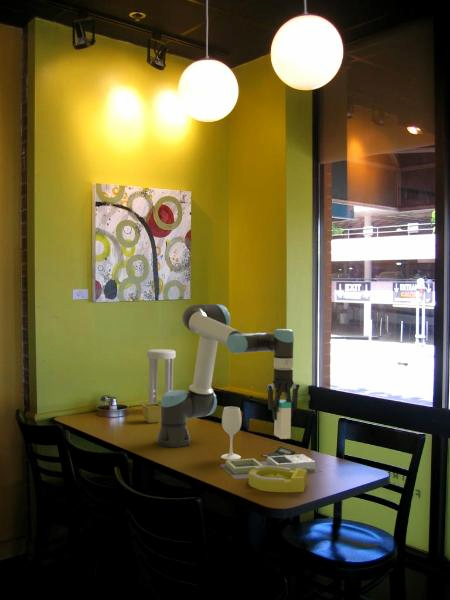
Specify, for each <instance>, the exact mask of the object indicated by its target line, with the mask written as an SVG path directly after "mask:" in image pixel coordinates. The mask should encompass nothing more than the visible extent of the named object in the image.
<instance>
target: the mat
mask: <svg viewBox="0 0 450 600" xmlns="http://www.w3.org/2000/svg"><path fill="white" fill-rule="evenodd" d="M258 462H259V463H260V464H262V465H263V466H267V460H265V461H258ZM219 465H220V467H221V468H222V469H224V470H225V471H226V472H227V474H229V475H230V476H231V477H232V478H233V479H234V480H241V479H243V480H244V479H249V473H236V474H234V473H233V472H232V471H231V470H230V469H229V468H228V467H227V466H226V463H225V464H219ZM250 466H254V465H253V464H249V465H236V466H235V467H236V468H237V467H250ZM313 473H314V474H316V473H323V471H322V470H320V469H319V468H317V467H316V466H315V471H307V474H313Z"/></svg>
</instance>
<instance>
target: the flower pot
mask: <svg viewBox="0 0 450 600" xmlns="http://www.w3.org/2000/svg"><path fill="white" fill-rule="evenodd" d="M141 406H142V407H141V409H142V414H143V419H144V420H145V422H147V423H148V424H154V423H156V422H157V423H159V422H161V403H158V402H157V403H154V404H148V403H145V404H141ZM157 423H156V424H157Z"/></svg>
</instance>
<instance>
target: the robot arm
mask: <svg viewBox="0 0 450 600" xmlns="http://www.w3.org/2000/svg"><path fill="white" fill-rule="evenodd" d="M181 318H182V324H183V326H184V328H186V329H187V330H188V331H190V332H192V333H196V334H198V335H199V341H198V346H197V353H196V359H195V360H196V361H195V368H194V374H193V379H192V380H193V381H192V384H190V385H189V386H188V390H187V391H188V392H187V391H186V390H183V389H177V390H173V391H169V392H166V393H165V394H164V393H163V395H162V396H161V401H160V405H161V419H160V428H159V432H158V435H157V437H156V445H158V446H160V447H166V448H182V447H187V446H188V444H189V445H190V444H191V437H190V434H189V430H188V427H187V424H188V423H187V422H188V421H187V420H188V419H194V418H204V417H207V416H210V415H212V414H214V412H215V411H216V409H217V403H218V399H217V394H215V392H214V389H213V388H212V383H213V382H212V381H213V375H214V368H215V362H216V356H217V352H218V351H217V350H218V343H221V344H223V345H225V346H226V348H227V349H228V350H229V353H232V354H243V353H244V354H247V353H257V352H258V353H260V352H272V353H273V367H274V369H273V380H272V383H270V384H266V386H265V387H266V389H267V408H268V409H267V410H270V411H272V420H273V421H274V420H275V428H277V429H279V412H278V406H279V401H280V400H281V396H282V394H283V393H284V395H285V400H286V401H288V402H291V420H292V419H293V412H294V410H297V409H298V398H299V397H298V395H299V389H300V384H298V383H295V382H294V380H293V378H294V375H293V374H294V370H293V368H294V342H295V339H294V331H293V330H292V329H289V328H277V329H275V330H274V333H272V332H267V331H258V332H255V333H254V332H248V333H246V332H245V333H244V332H242V331H240V330H238V329H236V328H233V327H231V326H230V325H231V315H230V312H229V311H228V308H227V307H226V306H225V305H223V304H218V303H217V304H216V303H205V304H201V303H200V304H199V303H197V304H191V305H189V306H188V307H186V308H185V309H184V310H183V313H182V316H181ZM274 388H275V390H274ZM291 389H292V397H291ZM274 391H275V392H274ZM274 393H275V394H274ZM181 446H182V447H181Z"/></svg>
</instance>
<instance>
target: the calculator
mask: <svg viewBox="0 0 450 600" xmlns="http://www.w3.org/2000/svg"><path fill="white" fill-rule="evenodd" d="M285 455H296V451H294V450H291V449H288V448H287V447H286V448H285V447H283V446H279V447H278V448H277V449H276V450H275V451H274V452H270V453H265V454H261V455H260V456H261V457H263V458H265V459H267V457H271V456H285Z"/></svg>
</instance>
